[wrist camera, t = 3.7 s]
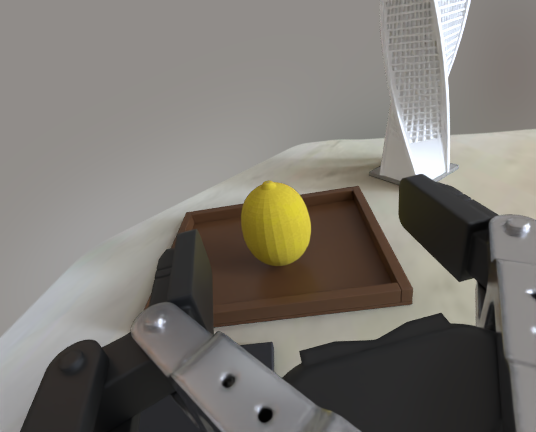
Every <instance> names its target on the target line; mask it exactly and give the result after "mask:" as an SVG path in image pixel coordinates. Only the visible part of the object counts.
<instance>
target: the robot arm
mask: <svg viewBox="0 0 536 432" xmlns="http://www.w3.org/2000/svg"><path fill="white" fill-rule="evenodd" d="M399 219H400V222H401V224H402V226H403V227H404V228H405V229H406V230H407V231H408V232H409V233H410V234H411V235H412V236H413V237H414V238H415V239H416V240H417V241H418V242H419V243H420V244H421V245H422V246H423V247H424V248H425V249H426V250H427V251H428V252H429V253H430V254H431V255H432V256H433V257H434V258H435V259H436V260H437V261H438V262H439V263H440V264H441V265H442V266H443V267H444V268H445V269H446V270H447V271H448V272H449V273H450V274H452V275H453V276H454V277H455V278H456V279H457V280H458V281H459V282H461V281H464V280H468V279H472V278H475V279H476V280H477V283H476V289H475V295H476V326H472V325H465V324H450V323H449V321H448V320H447V319H446V318H445V317H444V316H443V314H442V313H439V314H435V315H431V316H428V317H424V318H420V319H417V320H413V321H409V322H406V323H405V324H403V325H401V326H399V327H398V328H396V329H394V330H392V331H391V332H389V333H387V334H385V335H384V336H382V337H380V338H378V339H376V340H365V341H338V342H332V343H328V344H324V345H320V346H317V347H313V348H309V349H306V350H302V351H299V352H300V356H301V361H302V363H301V364H299V365H298V366H296V367H294V368H293V369H292V370H290V371H289V372H288V373H287V374H286V375H285V376H284V377H283V378H281V377H280V376H278V375H277V374H276V373H274V372H273V371H272V370H271V369H269V368H268V367H267V366H265V365H264V364H263V363H262V362H260V361H259V360H258V359H256V358H255V357H254V356H252V355H251V354H250V353H249V352H247V351H246V350H245V349H243V348H242V347H241V346H240V345H238V344H237V343H236V342H234V341H233V340H232V339H231V338H229V337H228V336H227V335H225V334H224V333H222V332H219V331H218V332H217V333H215V334H214V331H213V278H212V269H211V265H210V261H209V258H208V256H207V253H206V250H205V247H204V245H203V242H202V239H201V236H200V234H199V231H198V230H197V229H194V230H190V231H186V232H182V233H178V234H177V236H176V242H175V248H171V249H167V250H166V251H165V252H164V253H163V255H162V256H161V257H160V259H159V261H158V266H157V271H156V275H155V280H154V284H153V288H152V293H151V297H150V302H149V307H148V308H147V309H145V310H144V311H143V312H141V313H140V314H139V315H138V316H137V318H136V319H135V320H134V322H133V324H132V326H131V332H130V333H128V334H127V335H125V336H123V337H122V338H120V339H118V340H116V341H114V342H112V343H110V344H108V345H106V346H104V347H101V346H100V345H99V343H98V342H96V341H94V340H83V341H79V342H77V343H75V344H72V345H71V346H69V347H67V348H66V349H64V350H63V351H62V352H60V353H59V354H58V355H57V356H56V357H55V358H54V359H53V360H52V362H51V363H50V364H49V366H48V368H47V369H46V372H45V374H44V376H43V379H42V381H41V383H40V386H39V388H38V390H37V393H36V395H35V397H34V400H33V402H32V405H31V407H30V409H29V412H28V414H27V416H26V419H25V421H24V423H23V426H22V428H21V431H20V432H139V424H140V415H141V412H142V411H143V410H145V409H147V408H148V407H150V406H152V405H153V404H155V403H157V402H158V401H160V400H162V399H163V398H165V397H167V396H168V395H169V396H170V397H171V398H172V400H173V401H174V402H175V403H176V404H177V406H178V407H179V408H180V409H181V410H182V412H183V413H184V414H185V415H186V416H187V418H188V419H189V420H190V421H191V422H192V424H193V425H194V426H195V427H196V428H197V429H198V431H199V432H536V220H535V219H532V218H529V217H526V216H521V215H512V214H508V215H500V216H499V215H498V214H496V213H494V212H493V211H491V210H489V209H488V208H486V207H485V206H483V205H481V204H480V203H478V202H476V201H475V200H471V198H470V197H468V196H467V195H465V194H463V193H462V192H460V191H459V190H457V189H455V188H454V187H452V186H449V185H445V184H442V183H439V182H435V181H434V180H432V179H431V178H429V177H427V176H426V175H424V174H418V175H413V176H409V177H405V178H402V179H401V180H400V184H399Z"/></svg>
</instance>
